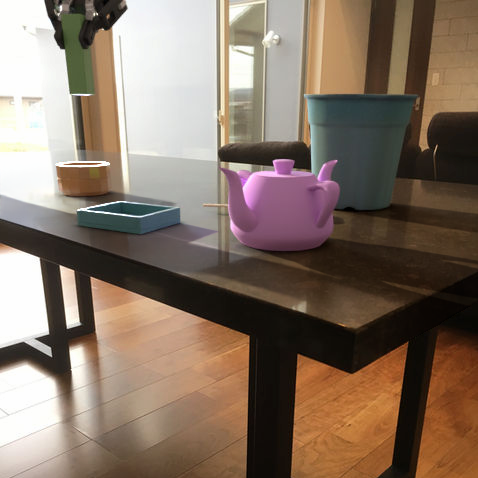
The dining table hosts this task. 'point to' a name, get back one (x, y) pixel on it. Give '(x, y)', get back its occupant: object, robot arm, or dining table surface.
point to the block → (77, 57)
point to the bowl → (84, 178)
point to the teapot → (282, 206)
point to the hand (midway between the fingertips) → (71, 44)
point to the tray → (128, 217)
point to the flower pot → (359, 143)
